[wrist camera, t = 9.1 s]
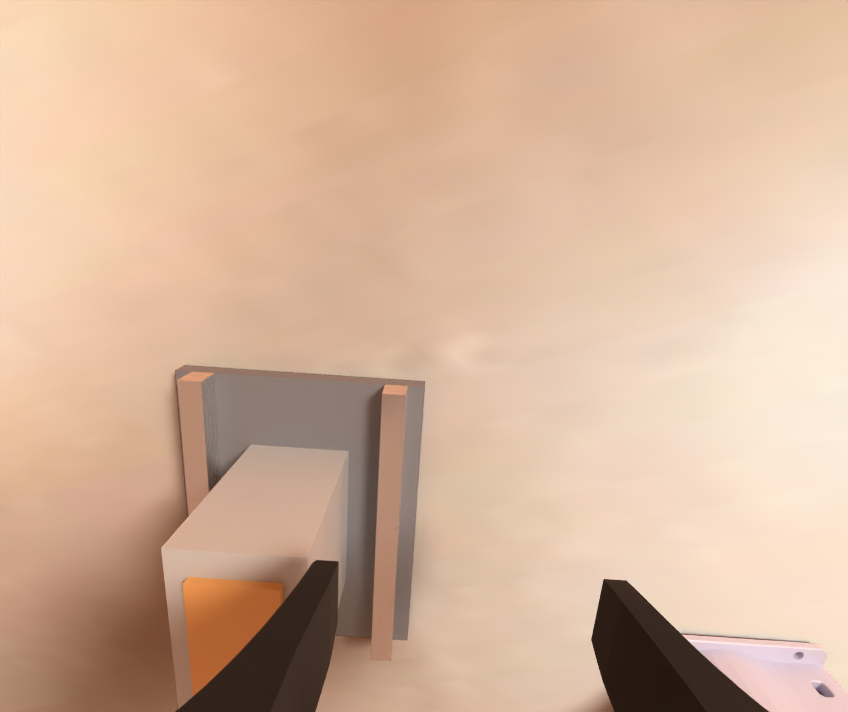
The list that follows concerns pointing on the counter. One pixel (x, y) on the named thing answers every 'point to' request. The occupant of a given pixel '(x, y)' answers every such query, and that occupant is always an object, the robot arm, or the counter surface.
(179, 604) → the module block
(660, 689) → the robot arm
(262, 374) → the rail mount
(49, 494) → the counter surface
